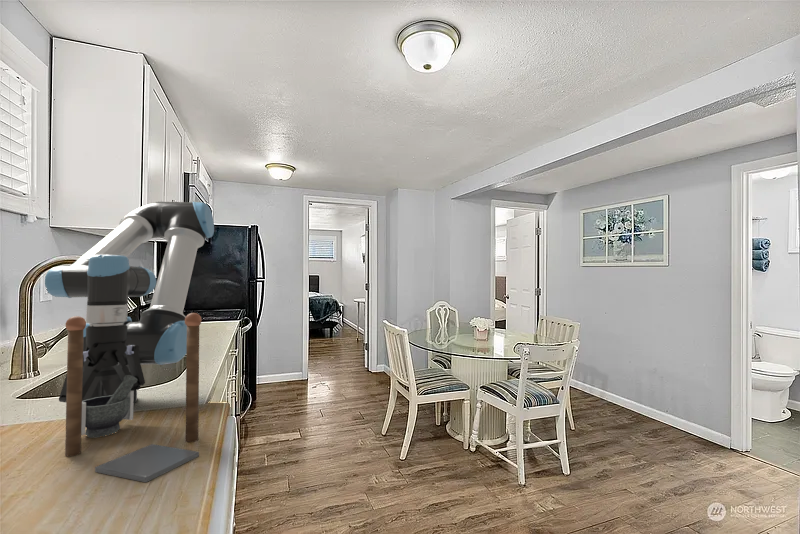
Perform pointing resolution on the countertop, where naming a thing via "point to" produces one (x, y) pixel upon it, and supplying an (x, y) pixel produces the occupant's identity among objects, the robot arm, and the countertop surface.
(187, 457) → the slate pad
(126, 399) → the mortar and pestle
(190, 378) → the post
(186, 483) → the countertop surface
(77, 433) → the post
